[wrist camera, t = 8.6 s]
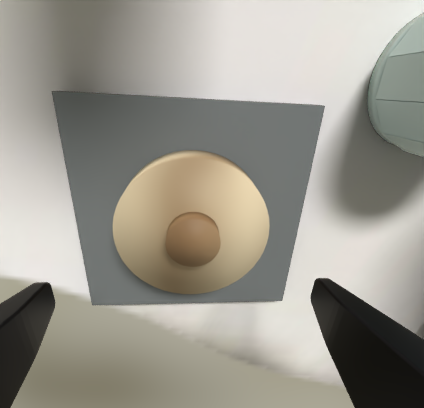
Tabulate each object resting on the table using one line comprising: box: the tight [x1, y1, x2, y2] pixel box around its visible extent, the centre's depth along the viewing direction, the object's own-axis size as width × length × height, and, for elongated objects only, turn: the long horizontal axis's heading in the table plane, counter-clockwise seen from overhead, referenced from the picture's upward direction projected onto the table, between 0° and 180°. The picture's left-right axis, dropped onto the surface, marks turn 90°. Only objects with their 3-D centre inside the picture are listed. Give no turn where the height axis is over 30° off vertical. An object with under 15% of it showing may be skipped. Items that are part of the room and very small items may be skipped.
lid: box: [113, 150, 270, 294], centre depth 12 cm, size 7×7×2 cm
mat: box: [52, 91, 325, 305], centre depth 14 cm, size 12×12×1 cm
